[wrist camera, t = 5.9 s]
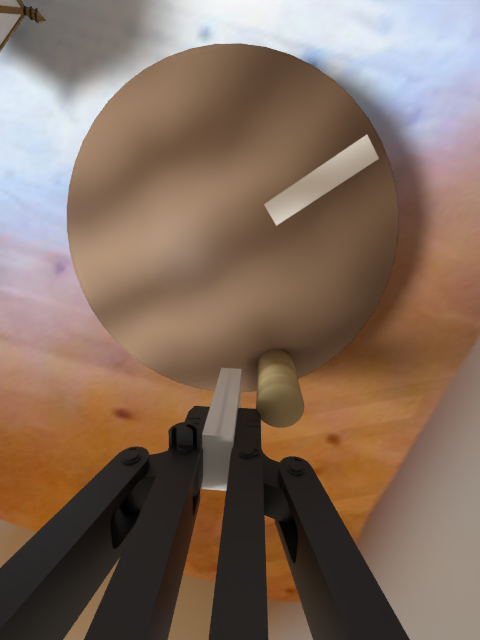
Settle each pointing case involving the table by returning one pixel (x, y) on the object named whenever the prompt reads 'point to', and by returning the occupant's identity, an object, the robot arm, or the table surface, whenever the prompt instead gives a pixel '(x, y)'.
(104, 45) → the table surface
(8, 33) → the game die
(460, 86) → the table surface
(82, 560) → the robot arm
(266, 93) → the turntable
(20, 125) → the table surface
